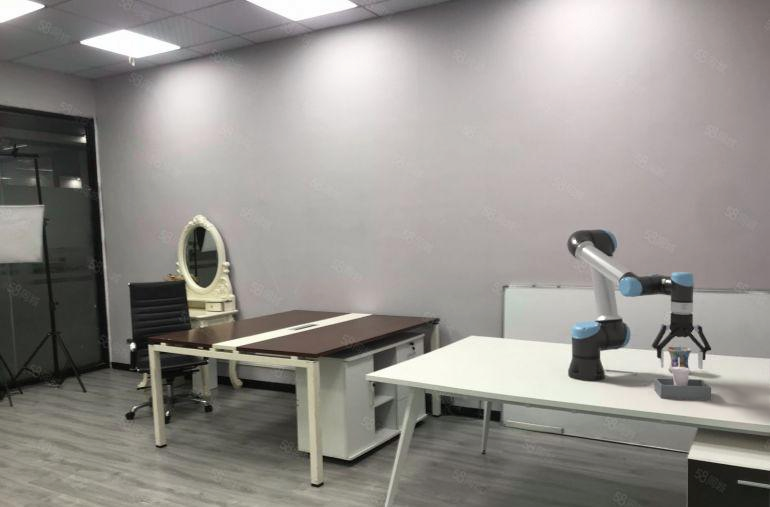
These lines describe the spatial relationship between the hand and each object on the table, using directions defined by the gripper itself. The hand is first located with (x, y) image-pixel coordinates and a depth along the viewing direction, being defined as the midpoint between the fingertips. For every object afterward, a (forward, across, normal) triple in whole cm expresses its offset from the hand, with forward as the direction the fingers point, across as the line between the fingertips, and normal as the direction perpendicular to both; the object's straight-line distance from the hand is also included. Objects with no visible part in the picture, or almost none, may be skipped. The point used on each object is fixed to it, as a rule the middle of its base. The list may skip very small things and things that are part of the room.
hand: (680, 367), depth 213 cm
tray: (+11, 0, -1) cm, 11 cm away
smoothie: (+10, 0, -1) cm, 10 cm away
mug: (+12, +9, +36) cm, 39 cm away
